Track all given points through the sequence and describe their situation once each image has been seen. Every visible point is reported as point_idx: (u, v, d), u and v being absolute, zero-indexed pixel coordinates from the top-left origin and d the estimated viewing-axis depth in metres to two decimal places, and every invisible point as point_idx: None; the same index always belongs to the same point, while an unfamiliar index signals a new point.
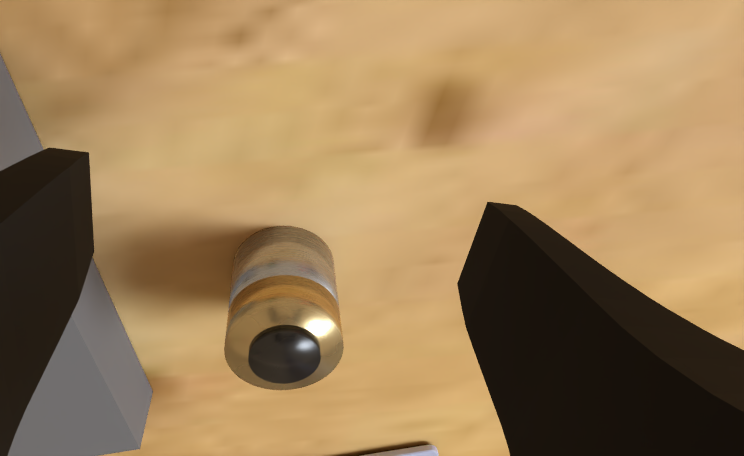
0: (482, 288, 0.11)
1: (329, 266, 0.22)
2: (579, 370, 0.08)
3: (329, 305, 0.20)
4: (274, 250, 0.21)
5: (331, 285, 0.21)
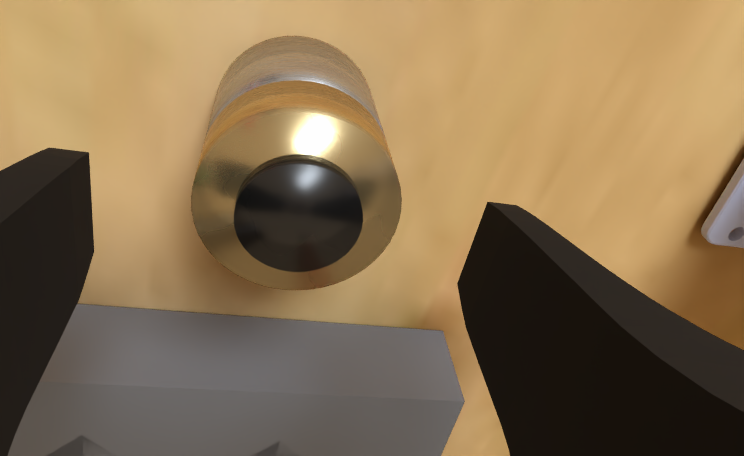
0: (482, 288, 0.11)
1: (273, 55, 0.13)
2: (579, 370, 0.08)
3: (257, 102, 0.11)
4: None
5: (271, 73, 0.12)
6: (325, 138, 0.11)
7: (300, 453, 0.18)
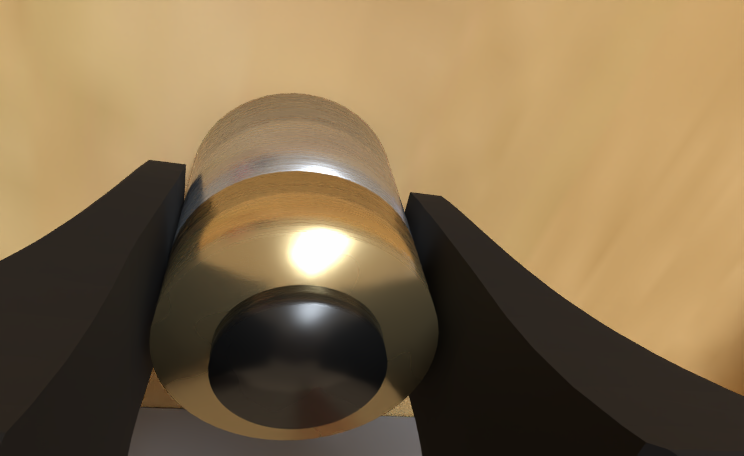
0: None
1: (264, 126, 0.10)
2: (475, 364, 0.08)
3: (241, 209, 0.08)
4: None
5: (261, 158, 0.09)
6: (336, 264, 0.07)
7: None
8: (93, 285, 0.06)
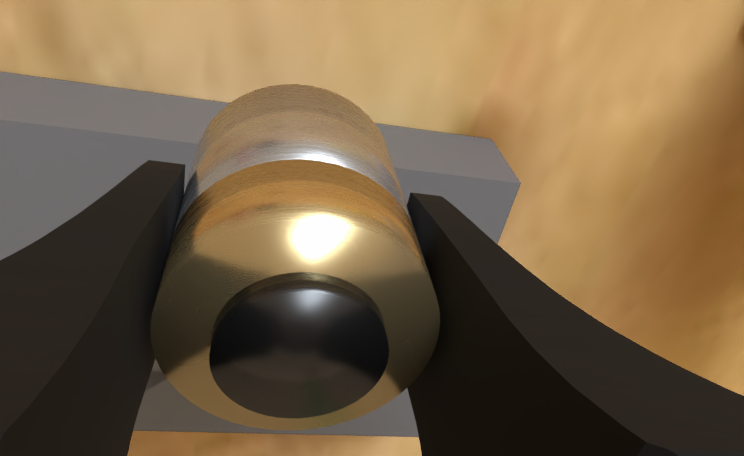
0: None
1: (267, 116, 0.10)
2: (475, 364, 0.08)
3: (244, 196, 0.08)
4: None
5: (264, 146, 0.09)
6: (339, 252, 0.07)
7: None
8: (92, 285, 0.06)
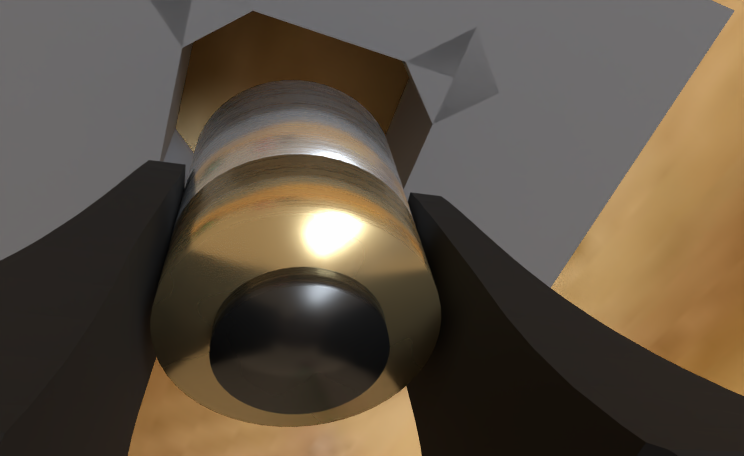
0: None
1: (269, 111, 0.10)
2: (475, 364, 0.08)
3: (246, 190, 0.08)
4: None
5: (266, 141, 0.09)
6: (341, 247, 0.07)
7: (493, 64, 0.13)
8: (93, 285, 0.06)
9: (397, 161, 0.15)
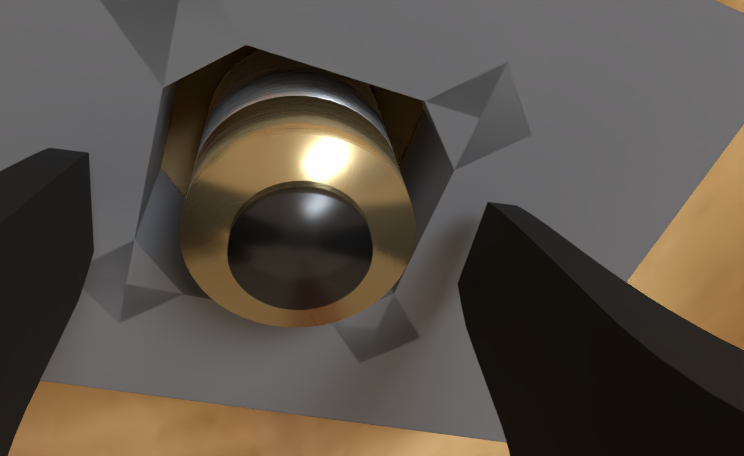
0: (482, 288, 0.11)
1: (274, 66, 0.12)
2: (579, 370, 0.08)
3: (257, 121, 0.10)
4: None
5: (272, 87, 0.11)
6: (333, 164, 0.09)
7: (526, 102, 0.11)
8: None
9: None
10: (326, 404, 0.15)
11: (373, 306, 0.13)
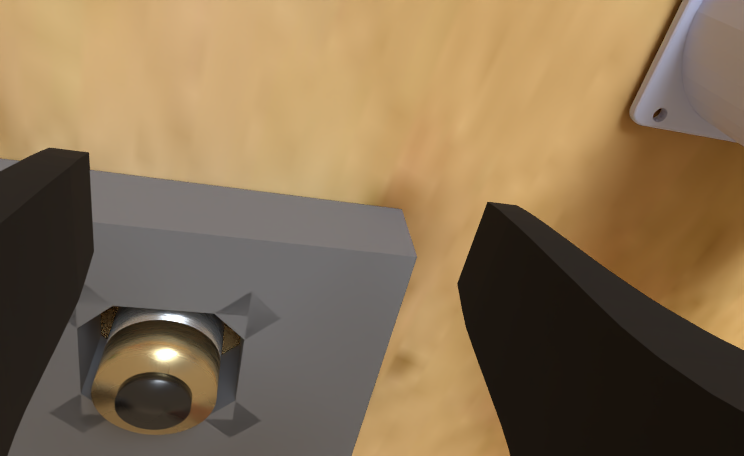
0: (482, 288, 0.11)
1: None
2: (579, 370, 0.08)
3: (122, 342, 0.19)
4: None
5: (137, 313, 0.20)
6: (158, 363, 0.19)
7: (270, 306, 0.20)
8: None
9: (241, 348, 0.23)
10: None
11: (226, 408, 0.23)
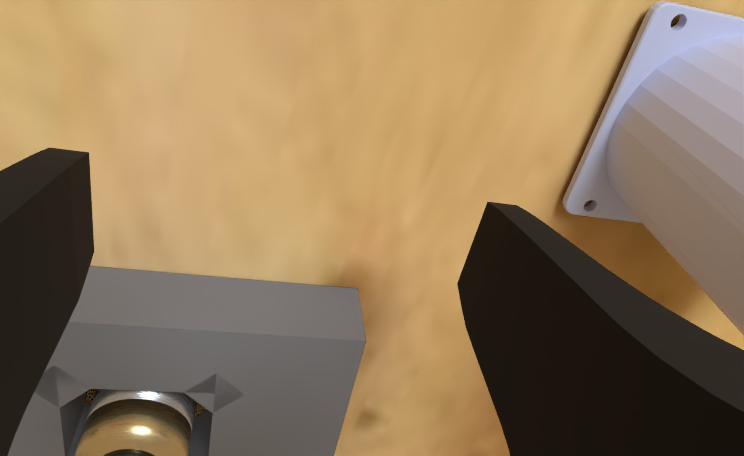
0: (482, 288, 0.11)
1: None
2: (579, 370, 0.08)
3: (100, 422, 0.21)
4: None
5: (114, 391, 0.22)
6: (131, 442, 0.21)
7: (234, 384, 0.22)
8: None
9: None
10: None
11: None
